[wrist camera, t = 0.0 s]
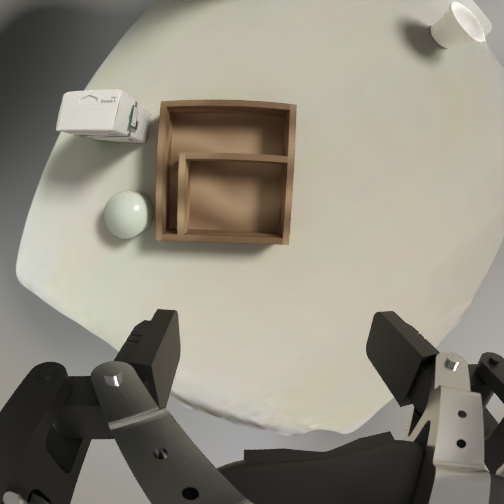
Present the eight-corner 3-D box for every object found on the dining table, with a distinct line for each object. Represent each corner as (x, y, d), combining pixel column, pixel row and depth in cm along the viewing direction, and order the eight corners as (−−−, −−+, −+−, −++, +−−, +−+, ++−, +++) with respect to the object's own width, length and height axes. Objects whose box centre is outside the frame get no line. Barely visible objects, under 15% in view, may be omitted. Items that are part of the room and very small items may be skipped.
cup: (448, 62, 32) (480, 49, 23) (416, 26, 30) (445, 6, 21) (462, 48, 31) (491, 35, 21) (433, 14, 29) (459, -3, 19)
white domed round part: (114, 191, 37) (103, 192, 33) (153, 190, 37) (145, 191, 34) (114, 233, 38) (105, 238, 35) (153, 234, 39) (145, 239, 35)
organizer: (169, 109, 34) (161, 101, 30) (290, 112, 35) (296, 104, 31) (164, 233, 39) (155, 240, 34) (283, 237, 40) (288, 244, 35)
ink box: (96, 141, 34) (52, 132, 23) (103, 110, 33) (61, 92, 22) (146, 144, 35) (112, 131, 24) (153, 111, 34) (122, 87, 23)
